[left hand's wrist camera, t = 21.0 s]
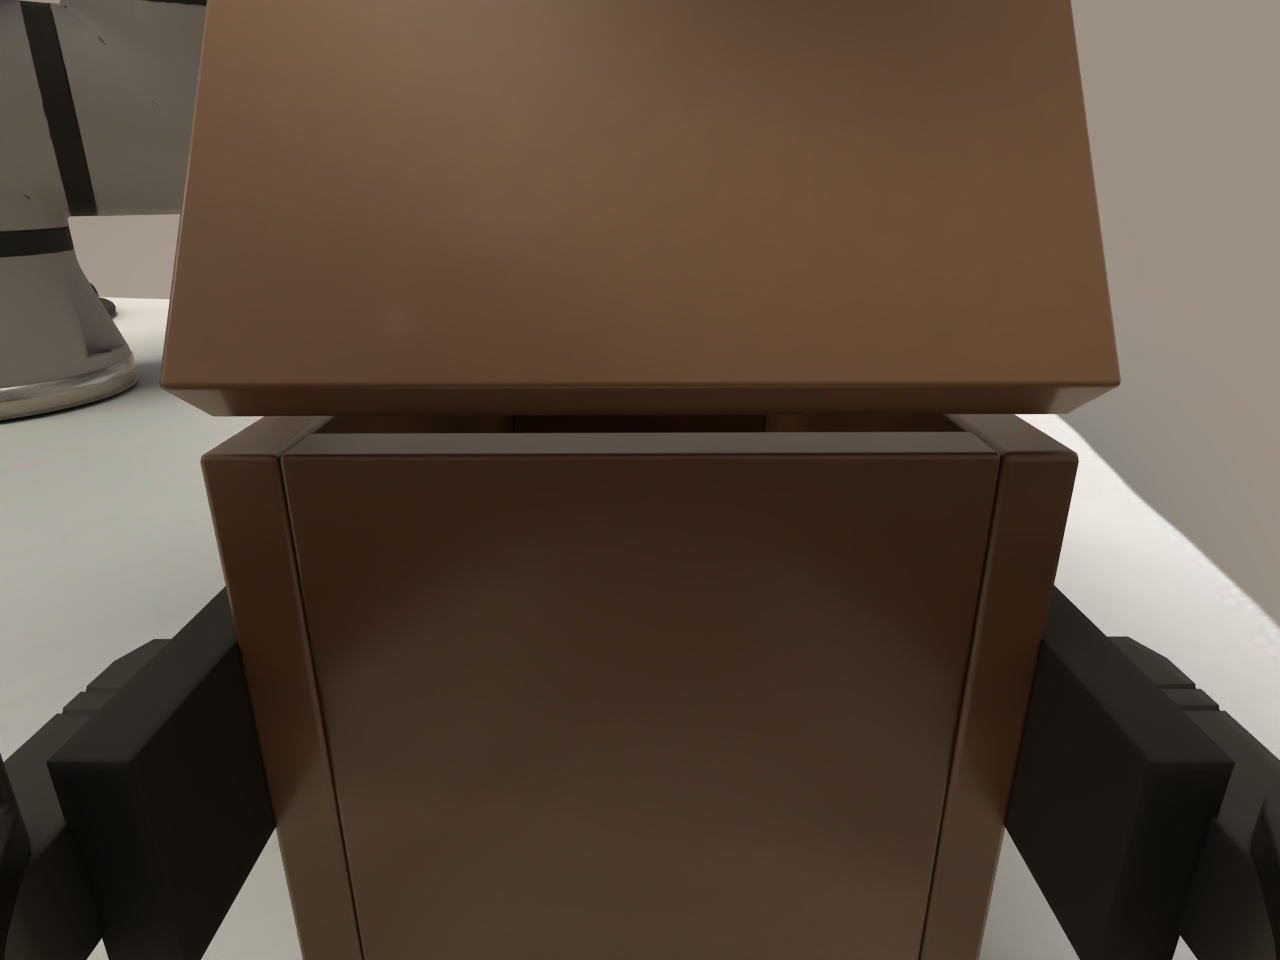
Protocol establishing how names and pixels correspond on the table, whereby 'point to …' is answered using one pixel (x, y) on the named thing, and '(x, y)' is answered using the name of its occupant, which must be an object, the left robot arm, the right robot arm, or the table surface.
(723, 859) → the chest
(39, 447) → the table surface
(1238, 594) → the table surface
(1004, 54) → the lid
